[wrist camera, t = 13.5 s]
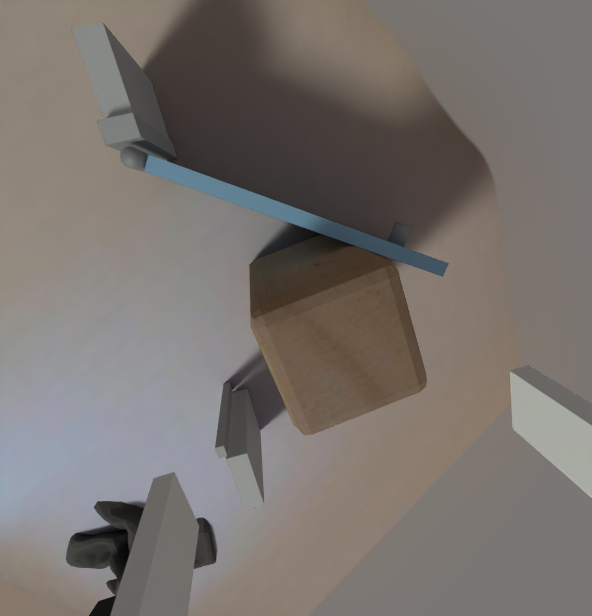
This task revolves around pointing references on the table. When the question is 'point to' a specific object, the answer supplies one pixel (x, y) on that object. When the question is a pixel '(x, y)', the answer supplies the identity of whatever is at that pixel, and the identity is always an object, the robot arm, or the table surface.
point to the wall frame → (155, 141)
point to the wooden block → (333, 331)
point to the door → (284, 211)
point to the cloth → (124, 542)
